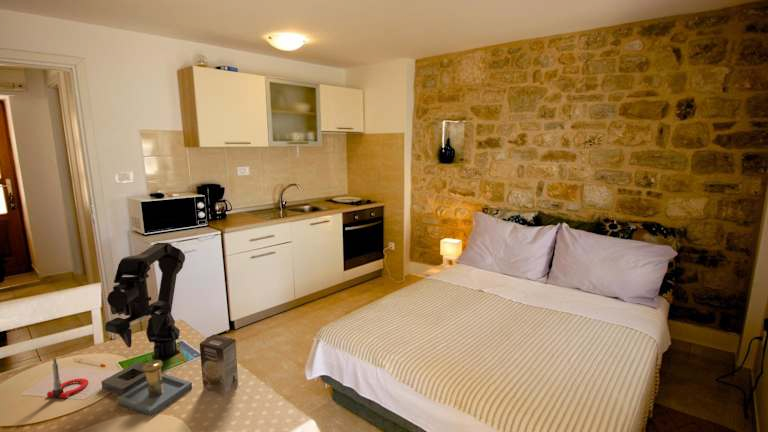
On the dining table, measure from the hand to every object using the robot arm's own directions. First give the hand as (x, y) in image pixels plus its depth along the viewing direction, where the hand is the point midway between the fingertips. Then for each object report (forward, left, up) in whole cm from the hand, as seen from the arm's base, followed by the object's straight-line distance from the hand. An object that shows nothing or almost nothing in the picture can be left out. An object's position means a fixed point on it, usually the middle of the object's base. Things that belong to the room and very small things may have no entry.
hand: (143, 340), depth 126 cm
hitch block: (+4, -2, -13) cm, 14 cm away
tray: (+6, +12, -13) cm, 19 cm away
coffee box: (-5, +27, -13) cm, 30 cm away
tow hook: (+14, -16, -13) cm, 25 cm away
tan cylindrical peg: (+6, +12, -12) cm, 18 cm away
